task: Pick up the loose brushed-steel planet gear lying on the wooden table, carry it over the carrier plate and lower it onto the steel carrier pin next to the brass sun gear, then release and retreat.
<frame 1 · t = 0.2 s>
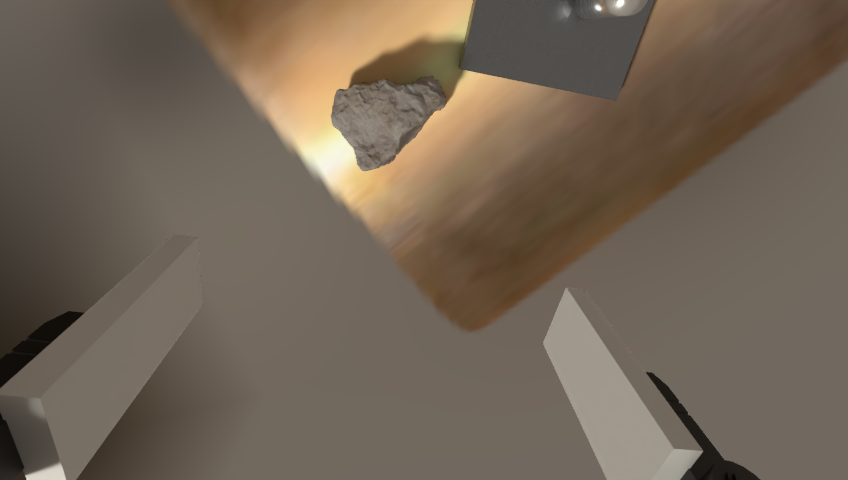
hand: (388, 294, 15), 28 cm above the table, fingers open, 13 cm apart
stone: (392, 111, 39), on the table
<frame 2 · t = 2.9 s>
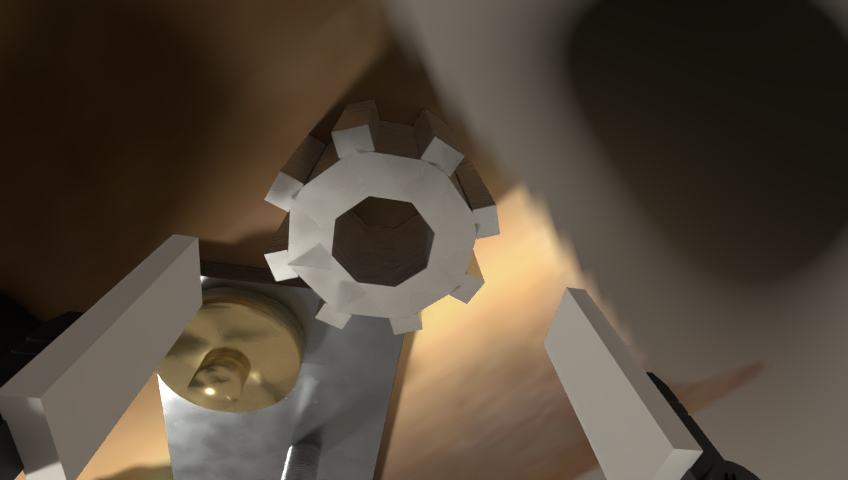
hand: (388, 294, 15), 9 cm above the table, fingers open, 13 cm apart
carrier: (283, 397, 29), on the table
planet gear: (385, 192, 22), on the table
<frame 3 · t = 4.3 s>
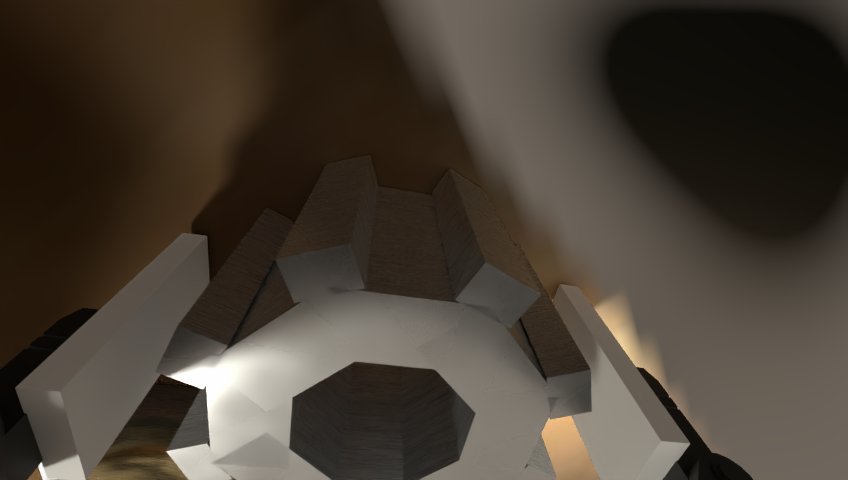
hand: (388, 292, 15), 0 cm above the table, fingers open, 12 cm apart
planet gear: (387, 288, 15), on the table
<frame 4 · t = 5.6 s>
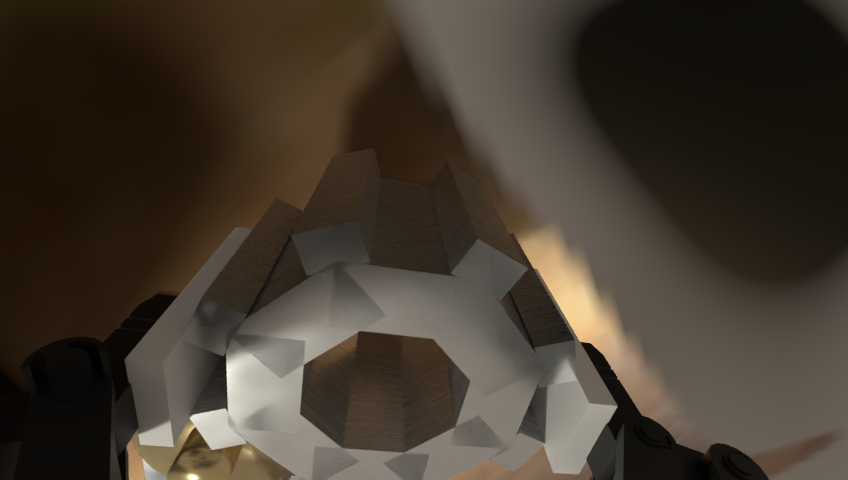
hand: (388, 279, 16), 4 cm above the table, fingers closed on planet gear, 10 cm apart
carrier: (281, 465, 26), on the table
planet gear: (389, 275, 16), point 4 cm above the table, touching gripper
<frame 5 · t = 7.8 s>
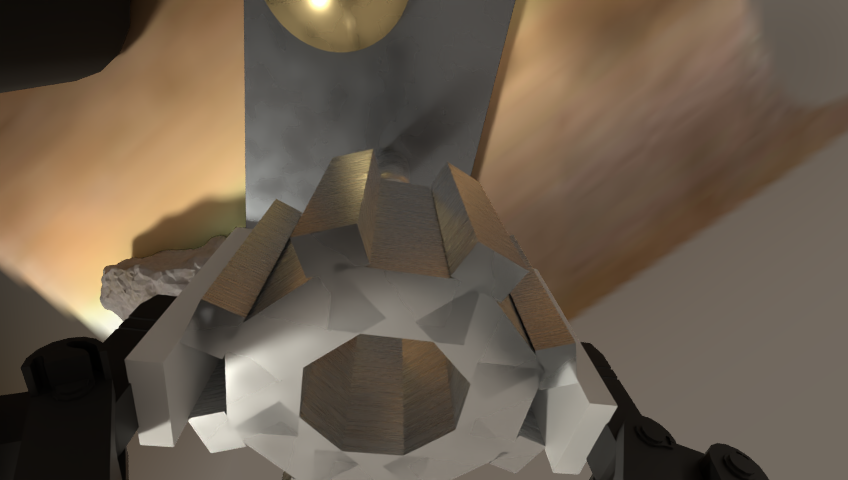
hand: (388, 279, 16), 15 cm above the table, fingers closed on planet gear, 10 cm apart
stone: (194, 270, 32), on the table
carrier: (370, 97, 27), on the table
planet gear: (388, 276, 16), point 15 cm above the table, touching gripper
when the fingers open (4 cm above the table, at t = 10.2 s): planet gear drops 2 cm, resting on carrier.
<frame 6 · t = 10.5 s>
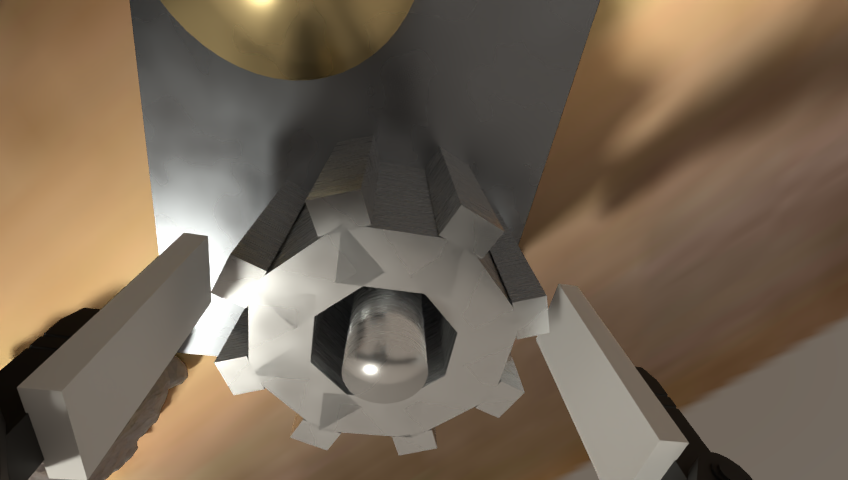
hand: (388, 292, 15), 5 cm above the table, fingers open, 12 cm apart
stone: (111, 383, 22), on the table
carrier: (357, 145, 17), on the table
planet gear: (387, 251, 17), point 1 cm above the table, touching carrier
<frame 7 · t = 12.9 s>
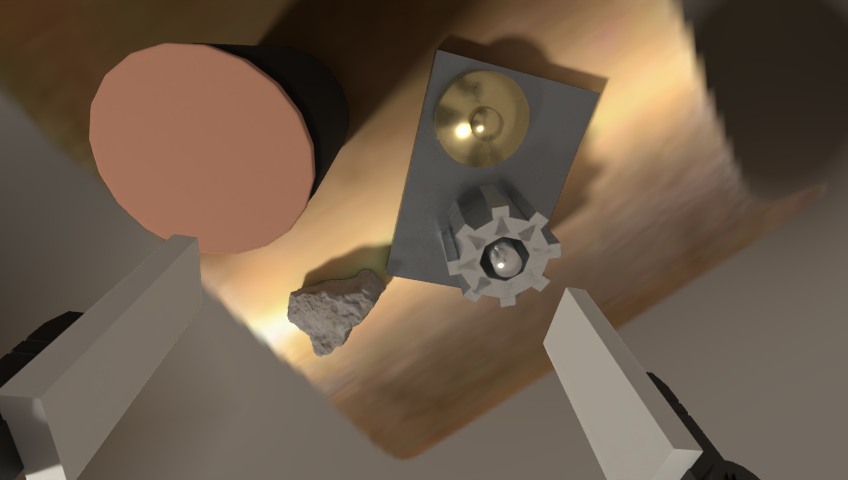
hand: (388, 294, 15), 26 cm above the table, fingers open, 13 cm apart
stone: (342, 294, 45), on the table
carrier: (480, 186, 40), on the table
coffee jar: (291, 111, 36), on the table
planet gear: (490, 231, 41), point 1 cm above the table, touching carrier
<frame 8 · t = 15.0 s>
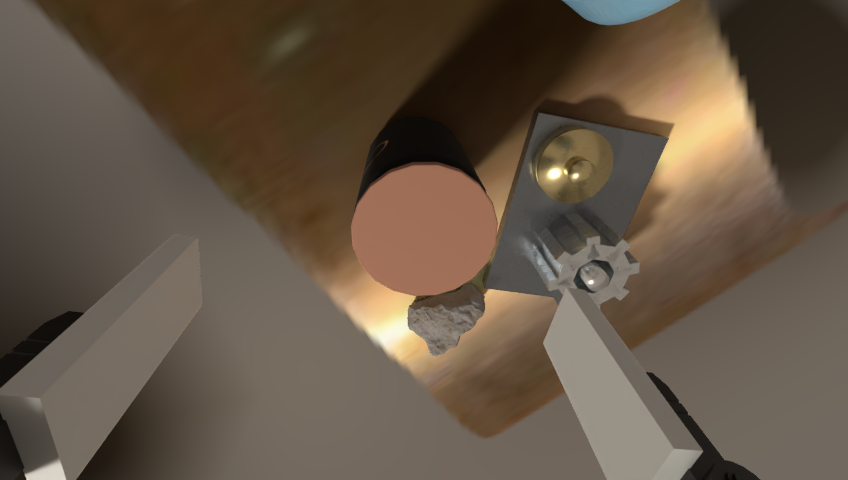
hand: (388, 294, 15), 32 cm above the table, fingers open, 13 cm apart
stone: (446, 303, 54), on the table
carrier: (564, 214, 49), on the table
coffee jar: (415, 163, 45), on the table
planet gear: (572, 250, 49), point 1 cm above the table, touching carrier
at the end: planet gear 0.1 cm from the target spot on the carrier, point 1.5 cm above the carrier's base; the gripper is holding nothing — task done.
